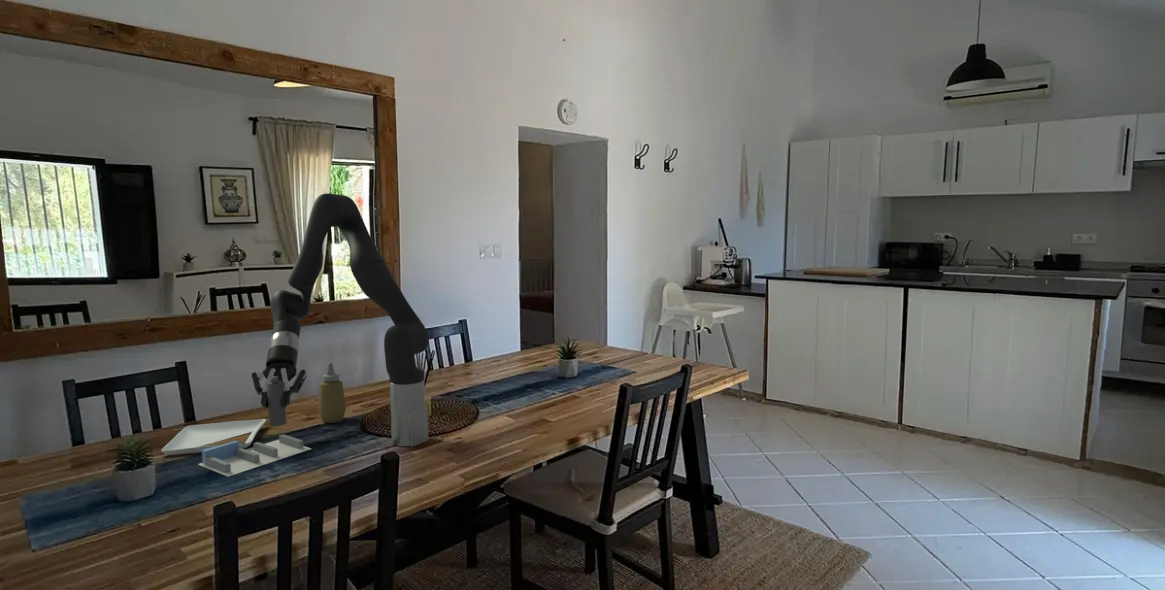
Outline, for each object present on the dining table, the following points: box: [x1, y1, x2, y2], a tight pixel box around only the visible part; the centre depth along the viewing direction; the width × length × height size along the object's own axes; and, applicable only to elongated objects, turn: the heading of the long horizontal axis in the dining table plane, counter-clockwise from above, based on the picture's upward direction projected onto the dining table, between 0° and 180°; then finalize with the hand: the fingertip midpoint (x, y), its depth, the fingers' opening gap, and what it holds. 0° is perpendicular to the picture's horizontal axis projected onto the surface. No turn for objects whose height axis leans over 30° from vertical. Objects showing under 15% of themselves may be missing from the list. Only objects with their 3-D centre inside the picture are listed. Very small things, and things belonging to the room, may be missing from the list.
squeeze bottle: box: [317, 362, 347, 424], centre depth 195 cm, size 8×8×18 cm
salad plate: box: [161, 418, 267, 456], centre depth 176 cm, size 21×21×3 cm
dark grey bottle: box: [267, 376, 287, 427], centre depth 167 cm, size 4×4×13 cm
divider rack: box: [197, 433, 312, 477], centre depth 163 cm, size 14×22×4 cm, turn 147°
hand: (274, 406), depth 165 cm, fingers closed on dark grey bottle, 4 cm apart
